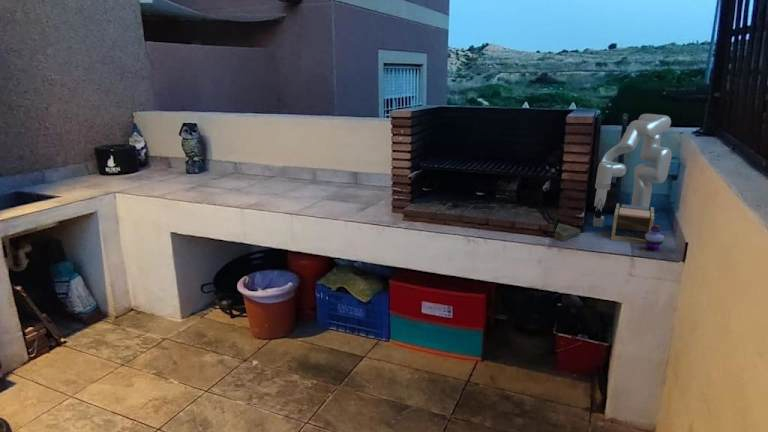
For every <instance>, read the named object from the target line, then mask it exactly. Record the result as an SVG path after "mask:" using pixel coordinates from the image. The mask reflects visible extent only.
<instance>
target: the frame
mask: <svg viewBox="0 0 768 432" xmlns="http://www.w3.org/2000/svg"><path fill="white" fill-rule="evenodd" d="M620 204H621V203H616V207H615V210H614V215H613V220H612V221H613V223H612V228H611V229H612V230H611V235H610V240H612V241H619V242H625V243H626V242H627V243H631V244H640V245H646V241H645V238H644V239H642V238H634V237H627V236H622V235H616V232H617V229H623V230H624V229H626V230H632V231H642V232H646V233H652V231H651V227H653V225H654V222H655V207H650V208H649V209H650V210H649V211H650V219H648V218H639V217H631V216H622V215H619V211H620V207H621V205H620Z"/></svg>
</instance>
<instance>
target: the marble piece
mask: <svg viewBox="0 0 768 432" xmlns="http://www.w3.org/2000/svg"><path fill="white" fill-rule="evenodd" d="M557 223H558V225H557V228H556V230H555V233H554V237H553V238H555V240H559V241H561V242H565V241H569V240H571V239H573V238H577V237H578V238H579V237H580V235H581V231H582V230H581V229H579V228H578V227H577V228H576V227H574V226H571V225H568V224H563V223H560V222H557Z"/></svg>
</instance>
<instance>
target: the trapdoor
mask: <svg viewBox="0 0 768 432" xmlns="http://www.w3.org/2000/svg"><path fill="white" fill-rule="evenodd" d="M649 209H650V206H649V207H643V206H634V205H631V204H624V203H621V205H620V207H619V215H622V216H631V217H639V218H648V219H650V210H649Z"/></svg>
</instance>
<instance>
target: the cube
mask: <svg viewBox="0 0 768 432" xmlns="http://www.w3.org/2000/svg"><path fill="white" fill-rule="evenodd" d="M604 223H605V216H603V215H601V218H595V215H594V216H593V221H592V227H598V226H599V227H600V228H603V227H604ZM599 227H598V228H599Z"/></svg>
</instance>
